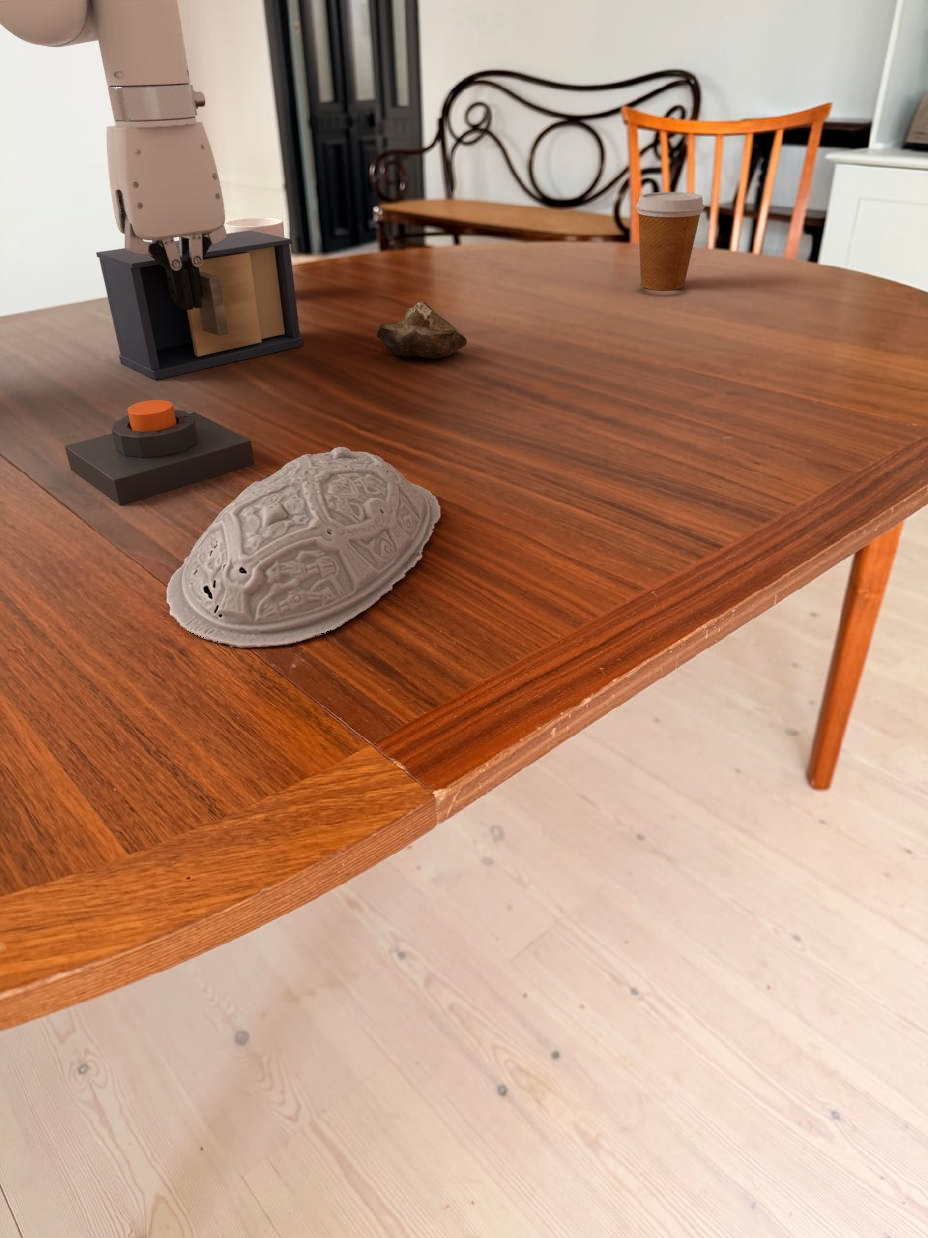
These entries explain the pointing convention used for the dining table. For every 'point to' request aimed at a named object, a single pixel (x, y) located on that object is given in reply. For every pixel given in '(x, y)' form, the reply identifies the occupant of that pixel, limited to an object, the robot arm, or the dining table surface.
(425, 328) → the fossilized seashell
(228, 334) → the closet door
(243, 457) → the switch block
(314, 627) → the grey embossed domed part
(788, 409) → the dining table surface
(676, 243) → the disposable coffee cup
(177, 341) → the closet
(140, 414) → the orange button
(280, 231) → the white cup
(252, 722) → the dining table surface
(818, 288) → the dining table surface
